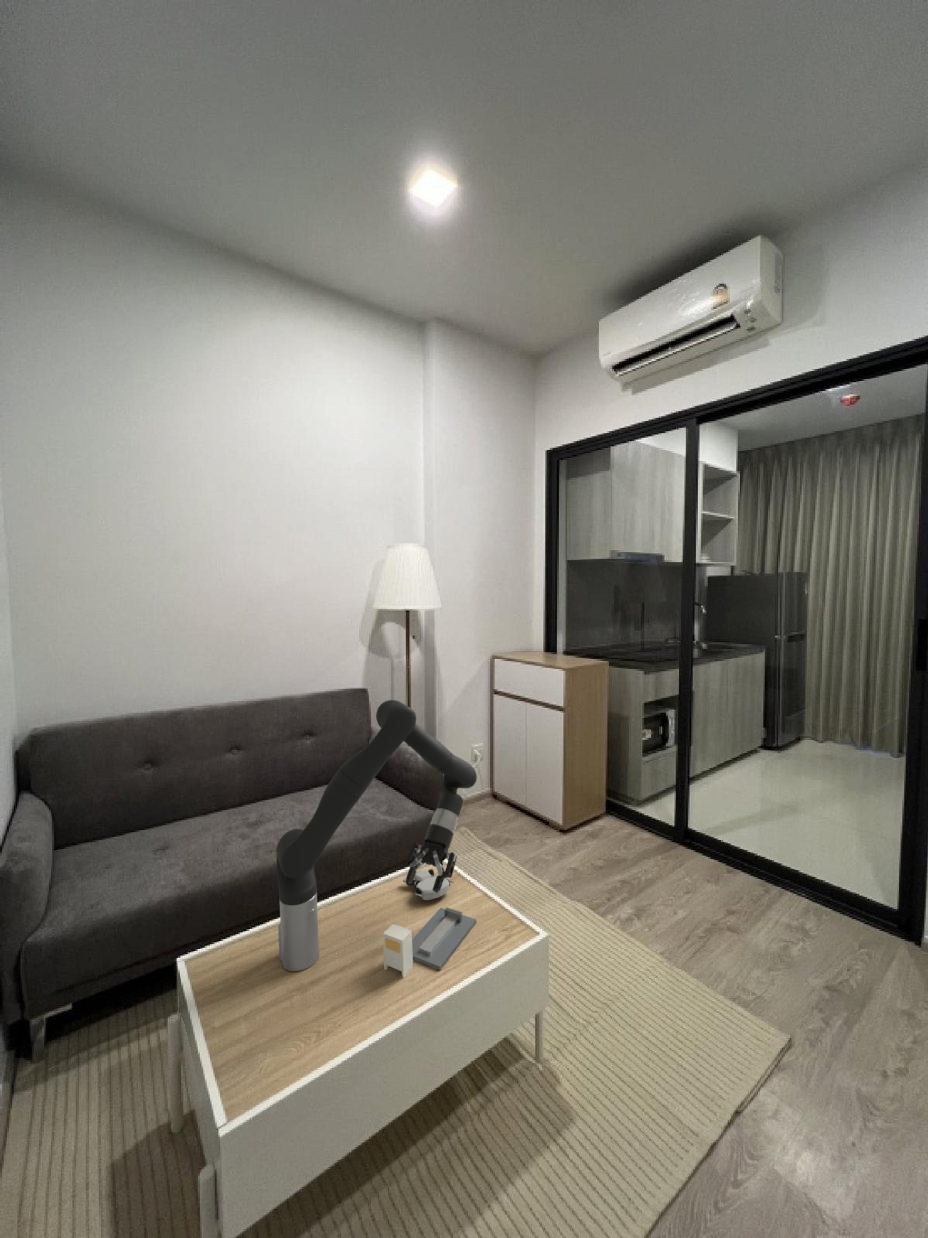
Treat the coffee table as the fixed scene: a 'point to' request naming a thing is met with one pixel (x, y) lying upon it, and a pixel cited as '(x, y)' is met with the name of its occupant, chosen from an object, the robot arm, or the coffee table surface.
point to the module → (398, 949)
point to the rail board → (447, 945)
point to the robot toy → (428, 885)
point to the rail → (441, 931)
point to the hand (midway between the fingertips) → (421, 887)
